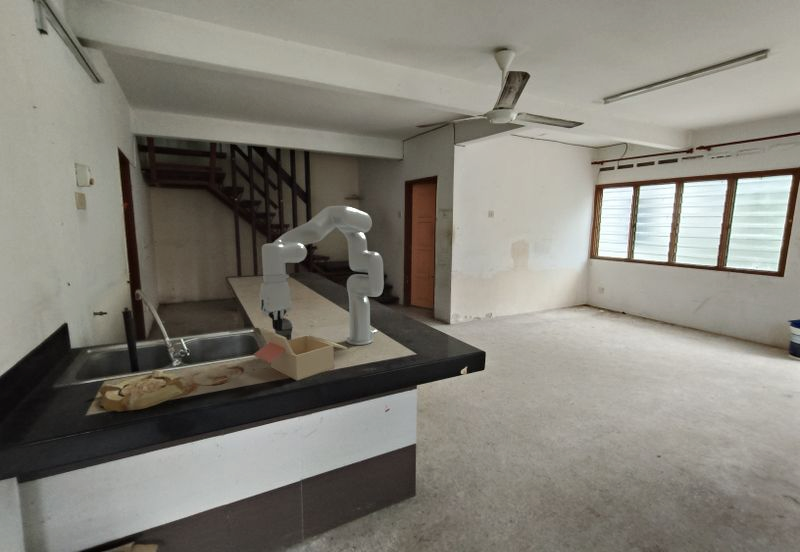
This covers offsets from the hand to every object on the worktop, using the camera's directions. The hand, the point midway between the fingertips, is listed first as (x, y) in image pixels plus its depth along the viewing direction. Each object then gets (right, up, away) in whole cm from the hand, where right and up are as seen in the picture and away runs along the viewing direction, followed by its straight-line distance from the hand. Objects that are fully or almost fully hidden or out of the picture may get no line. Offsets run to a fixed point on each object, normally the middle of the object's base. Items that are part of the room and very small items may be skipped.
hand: (277, 329), depth 134 cm
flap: (0, -4, 0) cm, 4 cm away
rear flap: (+15, -7, +17) cm, 23 cm away
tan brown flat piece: (-39, -19, -13) cm, 45 cm away
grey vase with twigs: (-5, -14, +23) cm, 28 cm away
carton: (+6, -16, +9) cm, 20 cm away
